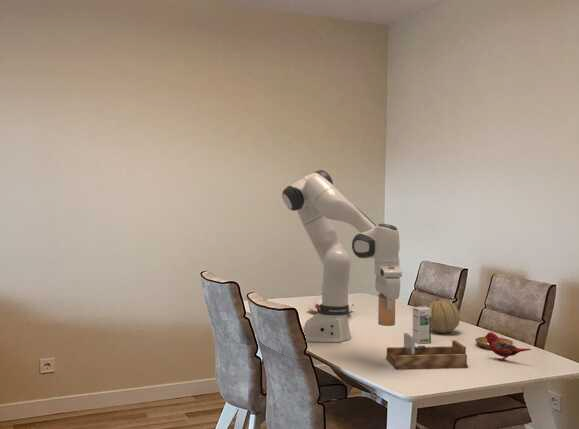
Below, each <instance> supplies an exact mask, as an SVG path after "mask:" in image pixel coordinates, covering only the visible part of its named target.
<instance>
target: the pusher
mask: <svg viewBox="0 0 579 429" xmlns="http://www.w3.org/2000/svg"><path fill="white" fill-rule="evenodd" d="M403 347H404V355H415V350H425V347H426V345H416V342H415V339H414V338H413V335H411V334H409V333H408V332H404V333H403Z"/></svg>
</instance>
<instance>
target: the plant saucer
mask: <svg viewBox="0 0 579 429" xmlns="http://www.w3.org/2000/svg"><path fill="white" fill-rule="evenodd" d="M499 338H500V339H501V340H503V341H505V342H508V343H510V344H512V345H513V344H514V342H513V341H512V340H511V339H508V338H505V337H504V338H503V337H499ZM474 340H475V343H476V344H477V345H478V346H479V347H480V346H481V347H480V348H482V347H483V349H485V348H487V349H486V350H491V348H490V346H489V345H488V344H487V343H488V341H487V338H486V337H485V336H480V337H476V338H475V339H474Z"/></svg>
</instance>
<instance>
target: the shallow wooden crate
mask: <svg viewBox="0 0 579 429" xmlns="http://www.w3.org/2000/svg"><path fill="white" fill-rule="evenodd" d="M451 343H452V344H451V345H450V346H449V345H448V346H447V345H445V346H441V345H440V346H425V350H415V355H404V346H400V347H399V346H398V347H396V346H395V347H394V346H393V347H392V346H391V347H386V356H385V359H386V361H388V363H390V365H392V367H394V368H395V370H396V371H397V370H433V369H435V370H436V369H438V370H439V369H442V368H443V369H468V367H469V365H468V354H467V353H466V352H467V347H466V346H465V345H463V344H462V343H460V342H459V341H458V340H452V342H451Z"/></svg>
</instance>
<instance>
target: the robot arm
mask: <svg viewBox="0 0 579 429" xmlns="http://www.w3.org/2000/svg"><path fill="white" fill-rule="evenodd" d="M282 200H283V203H284V205H285V206H286V207H287V209H289V210H291V211H294V212H295V211H296V212H297V215H298V216H299V219H300V222H301V223H302V225H303V227H304V229H305V231H306V233H307V236H308V237H309V239H310V241H311V243H312V245H313V248H314V249H315V251H316V252H317V255H318V256H319V259H320V261H321V263H322V264H323V265H322V266H323V272H322V273H323V274H322V284H321V286H322V287H321V295H322V304H321V305H319V304H316V305H315V308H316V309H317V312H316V313H315V314H314V315H312V317H311V316H310V318H309V319H307V320H305V323H304V326H303V331H304V333H305V336H306V340H307V341H306V343H308V342H311V343H313V342H314V343H315V342H316V343H342V342H344V341H349V340H351V338H352V335H351V331H350V325H349V317H350V309H349V305H348V301H349V281H350V272H351V257H350V254H349V252H348V251H347V250H345V249H344V247H343V245H342V243H341V240H340V238H339V236H338V234H337V232H336V228H335V227H334V225H333V224H332V221H337V222H338V221H339V222H343V223H346V224H349V225H350V226H352V227H354V228H355V229H356V230H357V231H358V232H359V233H358V234H356V235H355V236H354V237H353V238H352V241H351V250H352V252H353V254H354V255H355V256H356V257H357V258H360V259H374V274H375V282H374V285H375V291H376V292H378V294H380V293H381V294H382V295H384V296H385V297H387V304H386V308H387V309H388V310H392V304H393V300H394V299H395V300H399V297H400V291H401V277H402V276H403V271H402V270H401V267H400V258H399V253H400V245H401V244H400V234H399V230H398V228H397V227H396V226H395V225H392V224H389V223H387V224H386V223H378V224H375V222H373V221H372V219H371V218H369V217H368V216H367V215H366V214H364V213H363V211H361V210H360V209H359V208H358V207H356V206H355V205H354V204H353V203H352V202H351V201H350V200H348V199H347V197H345V196H344V195H343V194H342V193H341V192H340V191H339V190H338V188H337V187H336V186H335V185H334V183H333V179H332V177H331V175H330V174H329V173H328V172H327V171H325V170H324V169H320V170H316V171H314V172H313V173H310V174H308V175H306V176H303V177H301V178H300V179H299V180H296V181H295V182H294V183H292V184H291V185H288V186H286V187H285V188H284V189H283V190H282Z"/></svg>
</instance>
